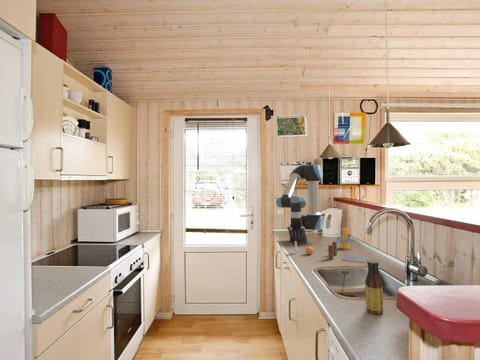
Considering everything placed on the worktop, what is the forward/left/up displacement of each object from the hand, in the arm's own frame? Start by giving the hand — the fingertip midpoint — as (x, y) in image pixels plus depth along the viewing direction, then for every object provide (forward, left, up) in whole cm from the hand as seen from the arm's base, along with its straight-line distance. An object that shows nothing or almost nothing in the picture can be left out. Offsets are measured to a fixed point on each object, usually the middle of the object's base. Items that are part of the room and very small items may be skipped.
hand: (296, 250), depth 222 cm
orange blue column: (-31, +28, -2) cm, 42 cm away
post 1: (+6, +25, -2) cm, 26 cm away
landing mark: (0, +39, -2) cm, 39 cm away
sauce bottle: (+83, +57, -2) cm, 101 cm away
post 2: (-6, +25, -2) cm, 26 cm away
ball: (0, +9, +1) cm, 9 cm away
